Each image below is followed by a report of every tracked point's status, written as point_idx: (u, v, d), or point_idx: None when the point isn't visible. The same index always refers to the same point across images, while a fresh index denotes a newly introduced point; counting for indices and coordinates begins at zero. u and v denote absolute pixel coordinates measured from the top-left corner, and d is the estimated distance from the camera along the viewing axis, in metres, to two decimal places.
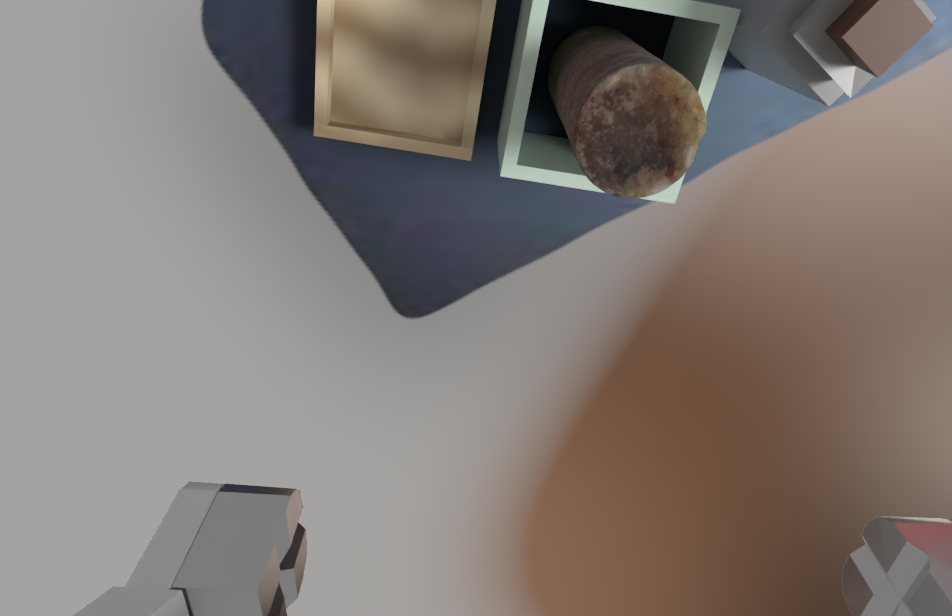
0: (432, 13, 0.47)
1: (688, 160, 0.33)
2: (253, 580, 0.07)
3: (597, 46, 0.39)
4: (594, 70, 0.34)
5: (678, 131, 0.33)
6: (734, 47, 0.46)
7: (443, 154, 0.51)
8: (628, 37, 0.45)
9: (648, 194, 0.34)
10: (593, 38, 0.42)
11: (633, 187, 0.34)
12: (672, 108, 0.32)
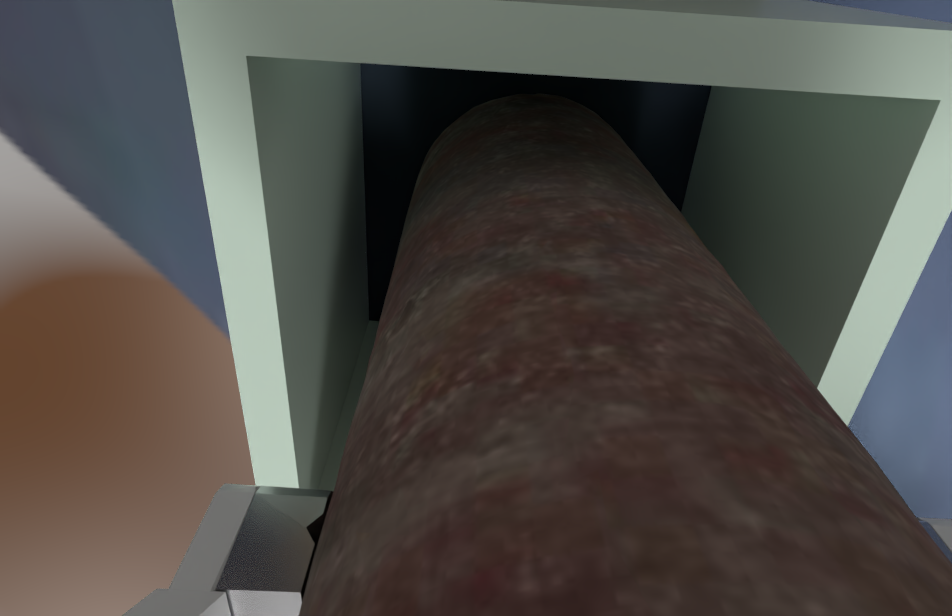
0: None
1: None
2: (296, 582, 0.07)
3: None
4: (906, 504, 0.06)
5: None
6: None
7: None
8: None
9: None
10: None
11: None
12: None
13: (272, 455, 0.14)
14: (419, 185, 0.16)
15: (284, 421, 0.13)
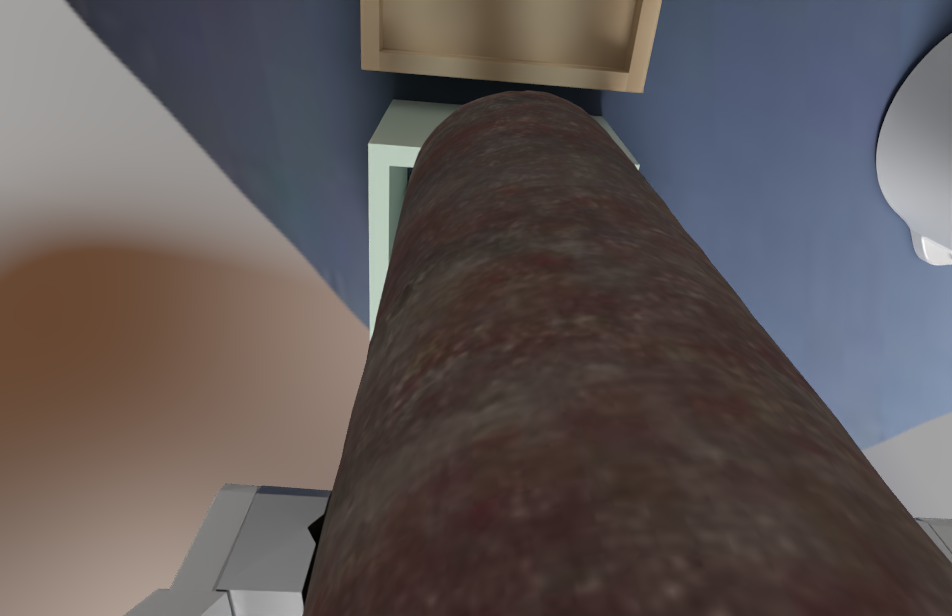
0: None
1: None
2: (297, 582, 0.07)
3: None
4: (860, 450, 0.06)
5: None
6: None
7: (362, 23, 0.33)
8: None
9: None
10: None
11: None
12: None
13: None
14: (413, 180, 0.17)
15: None
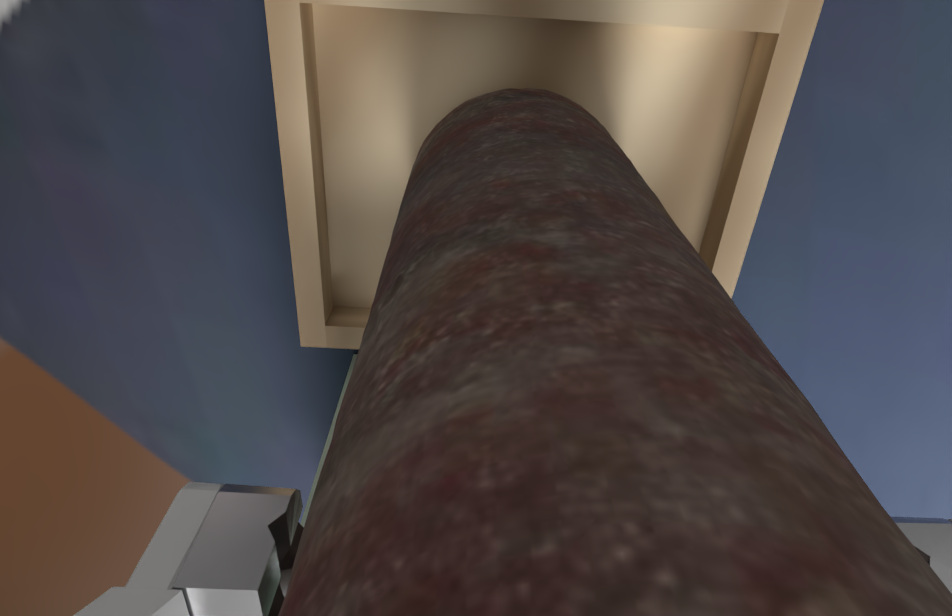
0: None
1: None
2: (253, 580, 0.07)
3: None
4: (828, 434, 0.07)
5: None
6: None
7: (298, 293, 0.22)
8: None
9: None
10: None
11: None
12: None
13: None
14: (412, 176, 0.17)
15: None
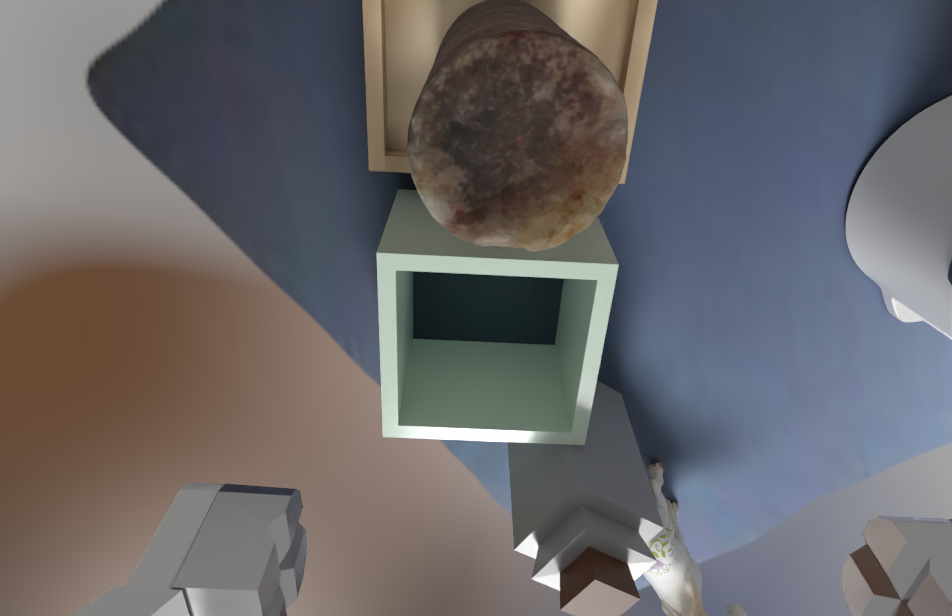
0: None
1: (487, 239, 0.21)
2: (253, 580, 0.07)
3: None
4: None
5: (530, 211, 0.20)
6: None
7: (369, 132, 0.37)
8: None
9: (423, 193, 0.19)
10: None
11: (429, 164, 0.19)
12: (564, 193, 0.20)
13: (389, 393, 0.37)
14: None
15: (395, 380, 0.37)
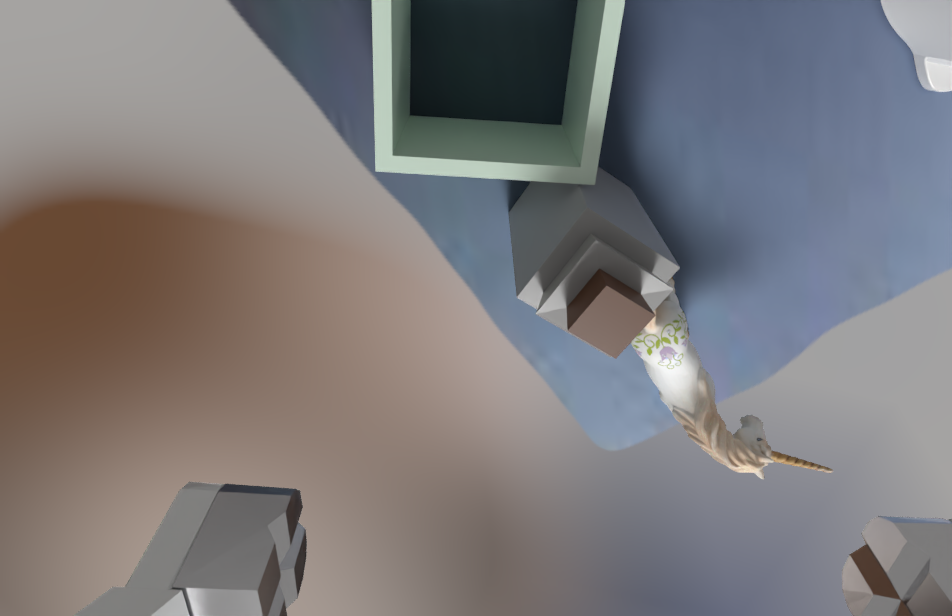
0: None
1: None
2: (253, 580, 0.07)
3: None
4: None
5: None
6: (536, 192, 0.44)
7: None
8: None
9: None
10: None
11: None
12: None
13: (383, 110, 0.34)
14: None
15: (389, 91, 0.34)
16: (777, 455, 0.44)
